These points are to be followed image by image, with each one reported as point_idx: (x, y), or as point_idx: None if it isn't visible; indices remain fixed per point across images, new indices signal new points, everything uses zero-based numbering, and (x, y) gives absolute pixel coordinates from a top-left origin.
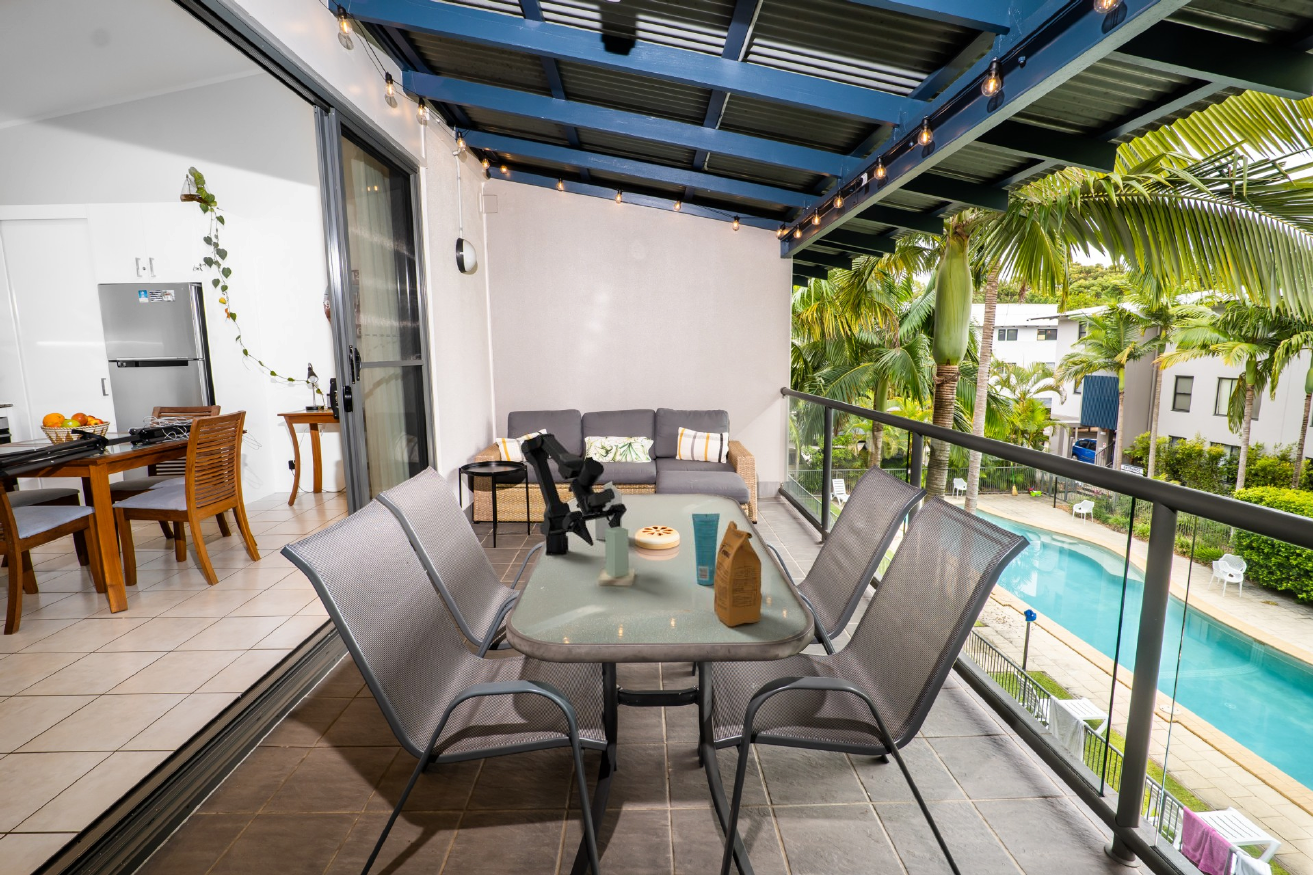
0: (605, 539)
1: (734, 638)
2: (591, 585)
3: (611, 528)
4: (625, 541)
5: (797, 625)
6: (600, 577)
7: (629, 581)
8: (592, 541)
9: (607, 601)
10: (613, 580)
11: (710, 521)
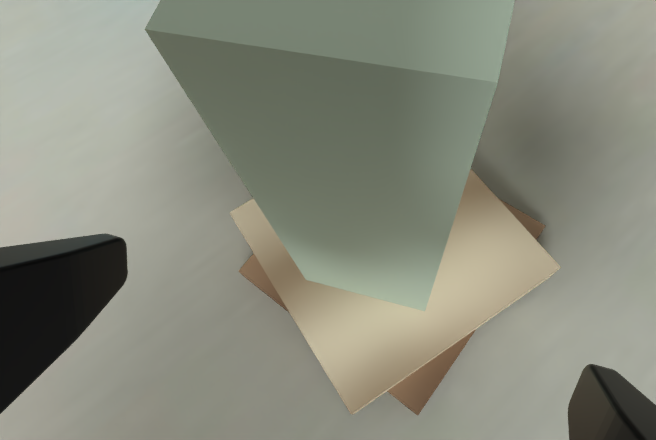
0: (462, 192)
1: None
2: (552, 349)
3: (358, 29)
4: None
5: None
6: (511, 291)
7: None
8: (613, 383)
9: (647, 105)
10: (484, 186)
11: None
